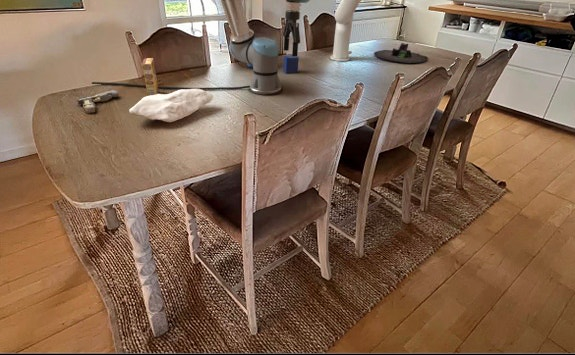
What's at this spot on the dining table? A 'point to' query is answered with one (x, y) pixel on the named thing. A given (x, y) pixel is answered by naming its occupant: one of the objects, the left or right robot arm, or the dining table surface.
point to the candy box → (150, 76)
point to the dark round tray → (401, 55)
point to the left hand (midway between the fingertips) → (290, 53)
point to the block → (290, 64)
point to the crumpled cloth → (171, 104)
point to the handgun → (95, 100)
